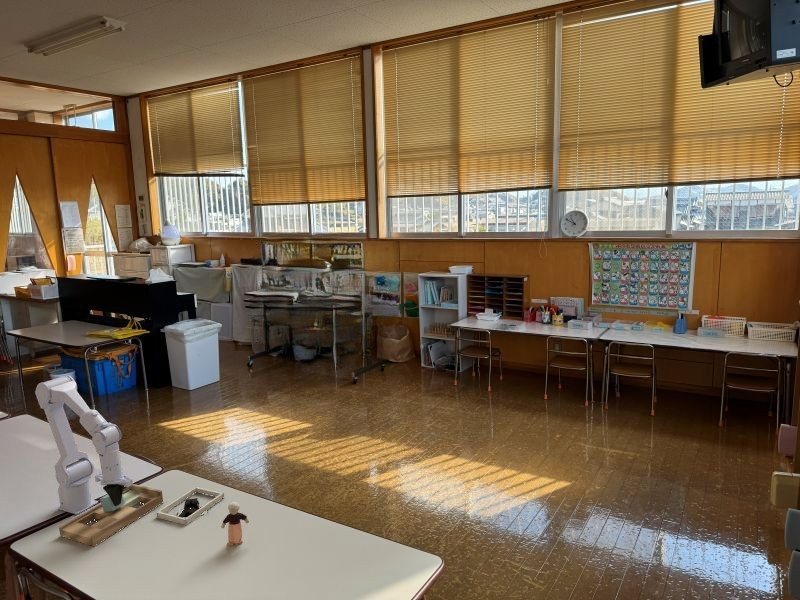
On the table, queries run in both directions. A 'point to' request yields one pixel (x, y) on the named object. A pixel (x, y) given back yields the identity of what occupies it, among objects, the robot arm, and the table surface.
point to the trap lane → (112, 516)
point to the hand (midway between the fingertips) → (117, 504)
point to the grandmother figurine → (234, 524)
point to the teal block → (110, 503)
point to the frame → (190, 518)
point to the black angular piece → (190, 504)
